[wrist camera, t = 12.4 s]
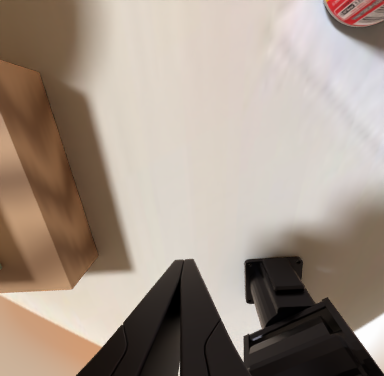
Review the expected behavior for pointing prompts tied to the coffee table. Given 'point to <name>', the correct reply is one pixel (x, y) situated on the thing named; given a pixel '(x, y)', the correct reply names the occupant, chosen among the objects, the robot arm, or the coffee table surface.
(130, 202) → the coffee table surface
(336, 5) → the soda can
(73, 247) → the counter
